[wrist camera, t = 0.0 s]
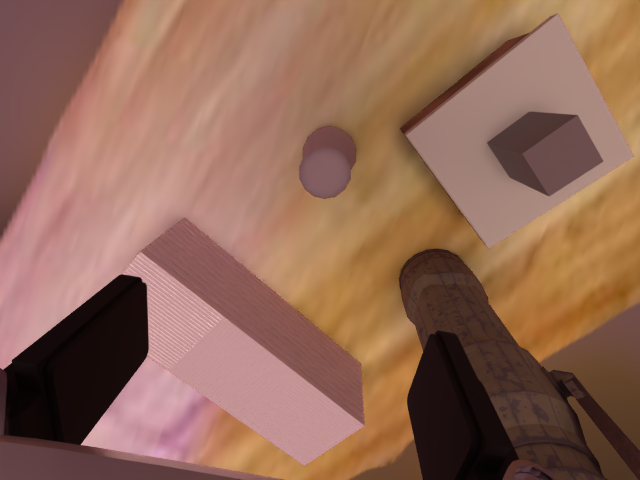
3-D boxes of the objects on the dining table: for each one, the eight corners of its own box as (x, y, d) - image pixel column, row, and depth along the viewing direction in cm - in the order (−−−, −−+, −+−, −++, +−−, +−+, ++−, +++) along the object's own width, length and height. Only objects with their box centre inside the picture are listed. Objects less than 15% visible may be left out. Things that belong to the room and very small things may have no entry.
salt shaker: (319, 115, 38) (307, 123, 26) (364, 139, 39) (374, 158, 27) (296, 163, 40) (277, 191, 28) (340, 185, 41) (339, 221, 29)
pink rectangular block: (141, 269, 47) (87, 315, 37) (185, 216, 44) (139, 251, 34) (311, 398, 54) (304, 466, 44) (360, 362, 51) (364, 426, 41)
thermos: (492, 273, 44) (908, 758, 12) (419, 325, 48) (580, 805, 15) (449, 226, 42) (806, 654, 10) (376, 284, 46) (456, 737, 13)
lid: (549, 16, 28) (621, -12, 20) (623, 154, 31) (707, 170, 24) (403, 134, 32) (421, 144, 24) (484, 244, 35) (519, 280, 28)
